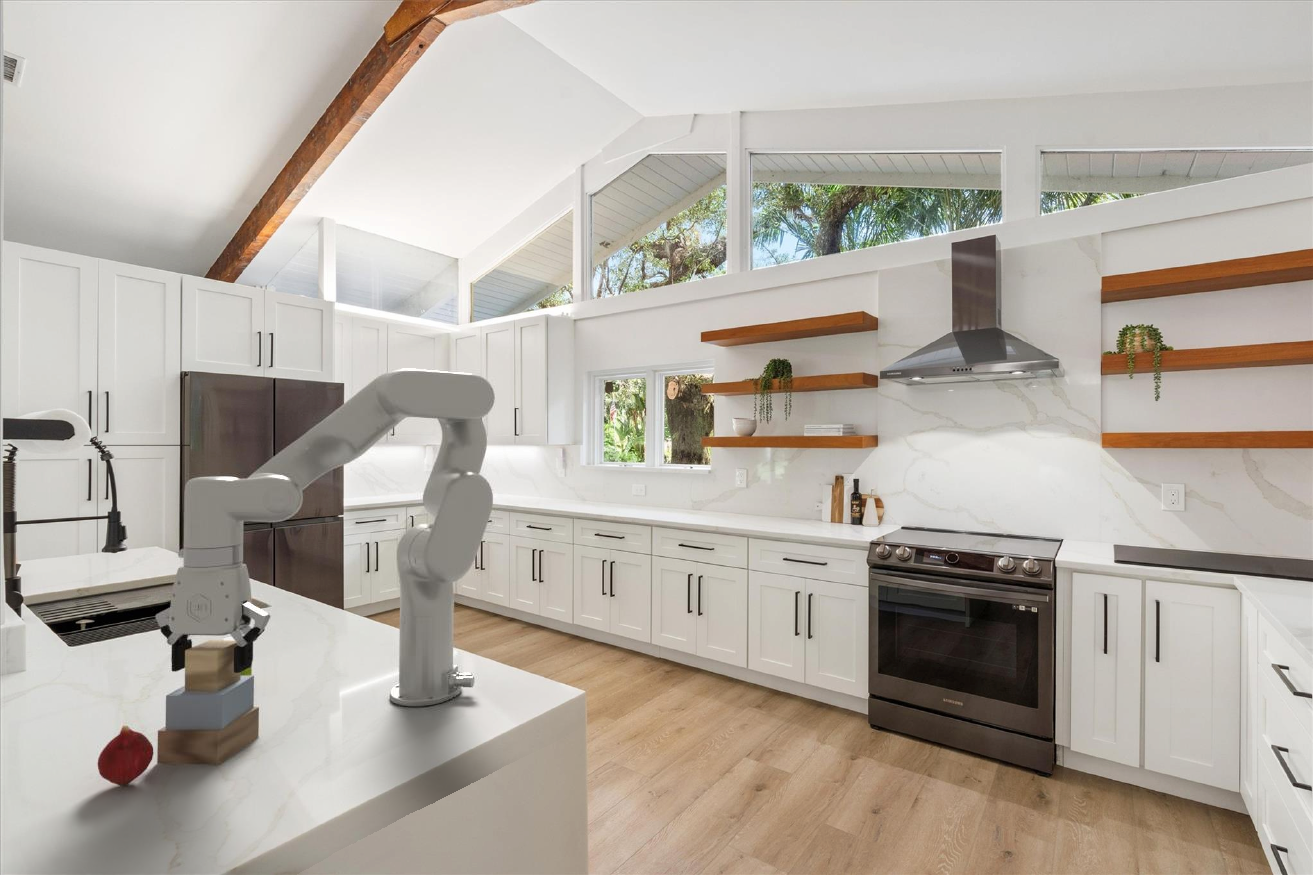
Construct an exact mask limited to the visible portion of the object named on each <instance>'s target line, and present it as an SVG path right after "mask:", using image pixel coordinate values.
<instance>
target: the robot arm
mask: <svg viewBox="0 0 1313 875" xmlns="http://www.w3.org/2000/svg"><path fill="white" fill-rule="evenodd" d="M495 401H496V400H495V392H494V389H493V387H492V385H491V384H490V382H489V381H488V380H487V379H485V378H484V377H482V376H481V375H478V374H475V373H470V372H469V373H466V372H452V371H450V372H449V371H440V370H427V369H419V368H418V369H417V368H401V369H396V370H392V371H389V372H388V371H387V372H384V373H382V374H381V375H379V376H377V377H376V378H374V379H373V380H372V381H370V382H369V383H368V384H366V385H365V386H364V387H363V388H362V389H361V390H359V391H358V392H357V393H356V394H354V395H353V396H352V397H350V398H349V399H348V400H347V401H346V402H344V403H343V404H342V405H341V406H340V407H338V408H336V409H335V410H334V411H333V412H332V413H330V414H329V415H328V416H326V417H325V418H324V419H322V421H320V422H319V423H317V424H316V425H314V426H313V427H312V428H310V429H309V430H308V431H306V432H305V433H304V434H303V435H301V436H300V437H298V438H297V439H296V440H295V441H293V442H291V443H290V444H289V445H288V446H286V447H285V448H283V449H282V450H281V451H279V452H278V453H277V454H276V455H274V456H273V457H271V458H270V459H269V460H267V462H265V463H264V464H263V465H262V466H260V467H259V468H258V469H257V470H255V471H254V472H253V473H252V474H251V475H249V476H248V477H247V478H239V477H237V476H236V477H235V476H222V475H221V476H199V477H194V478H193V477H192V478H191V479H189V480H188V481H187V482H186V483H185V486H184V497H183V498H184V501H183V502H184V503H183V504H184V505H183V508H184V509H183V510H184V512H183V518H184V519H183V520H184V521H183V548H181V549H179V550H178V552H177V555H178V558H181V559H183V562H182V563H183V566H181V567H178V568H177V571H176V575H175V577H174V581H173V586H172V590H171V591H172V593H171V599H170V605H169V606H170V607H168V608H166V609H164V610H162V611H160V612H158V613H156V614H155V620H156V622H157V623H158V625H159V628H160V633H161V634H162V635H163V636H164V637H165V638H166V643H167V645H169V646H171V658H170V659H171V672H178V671H181V670H183V669H185V650H187V649H190V648H192V647H193V641H192V639H191V638H189V637H190V636H215V637H217V636H227V635H230V636H232V637H233V639H234V640H235V641H236V642H237V644H238V646H236V647H235V648H234V672H235V673H240V672H242V671H244V670H246V669H248V668H250V667H251V666H252V665H253V661H254V642H255V641H257V640H258V638H259V637H260V636H261V635H262V634H263V633H264V632H265V628H266V627H267V625H268V623H269V621H270V619H271V615H270V613H268V612H266V611H264V610H263V609H261V608H259V607H258V606H255V605H254V604H253V603H252V601H253V600H252V589H251V580H250V575H249V570H248V566H247V564H245V563H244V522H256V523H257V522H260V523H278V522H284V521H286V520H289V519H290V518H292V517H293V516H294V515H296V514H297V513H298V512H299V510H300V509H301V508H302V505H303V501H304V495H303V493H304V492H303V490H305V489H306V488H307V487H308V486H309V485H311V484H312V483H313V482H314V481H316V480H317V479H319V478H320V477H323V475H325V474H327V473H329V472H330V471H332V470H334V469H337V468H340V467H342V466H344V465H347V464H349V463H351V462H353V461H355V460H357V459H359V458H360V457H361V456H363V455H364V454H365V453H366V452H367V451H369V450H370V449H371V448H372V447H373V446H374V445H375V444H376V443H377V442H379V441H380V440H381V439H382V438H383V437H385V435H386V434H388V433H389V432H390V431H392V430H393V429H394V428H395V427H397V425H399V424H400V423H401V422H402V421H403V420H405V419H406V418H424V419H437V421H438V424H439V425H440V426H439V427H440V429H441V435H442V436H441V441H440V442H441V443H440V447H439V450H438V454H437V456H436V459H435V461H434V463H433V467H432V469H431V472H430V474H429V477H428V480H427V482H426V485H425V487H424V490H423V494H422V504H423V506H424V508H425V510H426V511H427V512H428V513H429V514H430V515H432V516H433V517H435V519H434V521H433V523H420V524H417V525H414V526H412V527H410V528H409V529H408V530H406V531H405V532H404V534H402V536H401V537H400V539H399V541H398V544H397V548H396V565H397V574H398V580H399V646H398V648H399V653H398V654H399V655H398V656H399V661H398V663H399V664H398V681H399V682H398V683H397V684H396V685H394V686H393V687H392V688H391V689H390V691H389V699H390V701H391V702H392V703H394V704H396V705H399V706H403V707H404V706H405V707H426V706H433V705H437V704H442V703H444V701H445V702H447V701H449V699H450V700H451V699H453V697H454V698H456V697H457V696H458V695H459V694H460V693H461V691H462V688H473V687H474V685H475V676H474V675H473V673H472V672H463V673H461V671H459V664H454V607H455V594H454V593H455V592H454V584H453V583H454V582H455V583H456V582H457V581H459V580H461V579H462V578H463V577H464V576H466V575H467V573H468V572H469V570H470V569H471V568H472V565H473V564H474V561H475V559H476V557H477V554H478V551H479V549H480V545H481V543H482V540H483V537H484V534H485V531H486V529H487V525H488V523H489V520H490V516H491V514H492V510H493V505H494V503H493V501H494V495H493V490H492V487H491V485H490V483H489V481H488V480H487V479H486V478H485V477H484V476H483V475H481V474H480V473H481V469H482V466H483V462H484V459H485V455H486V451H487V445H488V444H487V443H488V437H487V431H486V428H485V424H484V421H483V417H485V416H486V415H488V414H489V413H490V412H491V411H492V409H493V407H494V404H495ZM252 620H253V621H254V624H253V627H251V626H250V625H251V622H252ZM244 635H245V636H244ZM456 695H457V696H456Z"/></svg>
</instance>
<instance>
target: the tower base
mask: <svg viewBox="0 0 1313 875" xmlns="http://www.w3.org/2000/svg"><path fill="white" fill-rule="evenodd" d="M259 714H260V707H259V706H254V707H253V708H251V709H250V710H249V711H247V712H246V713H244V714H243V715H242V716H240V717H239V718H237V719H236V720H234V721H233V722H232V723H230V724H229V725H227V726H226V727H224V728H223V729H206V730H166V726H164V727H162V728H160V729H158V730H157V751H156V753H157V758H156V759H157V760H156V762H157V763H162V764H163V763H164V764H163V765H183V766H184V765H187V766H188V765H189V766H191V765H193V766H218V765H220V764H221V763H223V762H224V761H225V760H227V759H229V758H230V757H232V756H233V755H234V754H236V753H238V752H239V751H240V750H242V749H244V748H245V747H246V746H248V745H249V744H251V743H252V742H254V741H256V740H257V739H259V736H260V735H259V734H260V733H259V732H260V731H259V730H260V728H259V727H260V726H259V725H260V722H259V721H260V715H259ZM162 764H161V765H162Z"/></svg>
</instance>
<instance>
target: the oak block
mask: <svg viewBox="0 0 1313 875" xmlns="http://www.w3.org/2000/svg"><path fill="white" fill-rule="evenodd" d="M236 646H238V644H237V642H236V641H229V640H223V639H222V640H219V639H217V640H216V639H209V640H207V641H205V642H201V643H199V644H197V645H195V646H192V648H190V649H187V650H185V668H184V686H185V691H219V690H221V689H223V688H224V687H226V686H228V685H230V684H232V683H234V682H236V681H238V680H240V679H241V672H240V673H235V672H234V648H235V647H236Z"/></svg>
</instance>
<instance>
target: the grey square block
mask: <svg viewBox="0 0 1313 875" xmlns="http://www.w3.org/2000/svg"><path fill="white" fill-rule="evenodd" d="M254 696H255V675H250V676H241V679H240V680H238V681H236V682H234V683H232V684H230V685H228V686H226V687H224V688H223V689H221V690H219V691H185V685H183V686H182V687H180V688H177V689H176V690H173V691H172V692H170V693H169V694H167V695H165V727H166V730H206V729H223V728H224V727H226V726H227V725H229V724H230V723H232V722H233V721H234V720H236V719H237V718H239V717H240V716H242V715H243V714H244V713H246V712H247V711H249V710H250V709H251V708H253V707H255V704H254V703H255V698H254Z"/></svg>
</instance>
